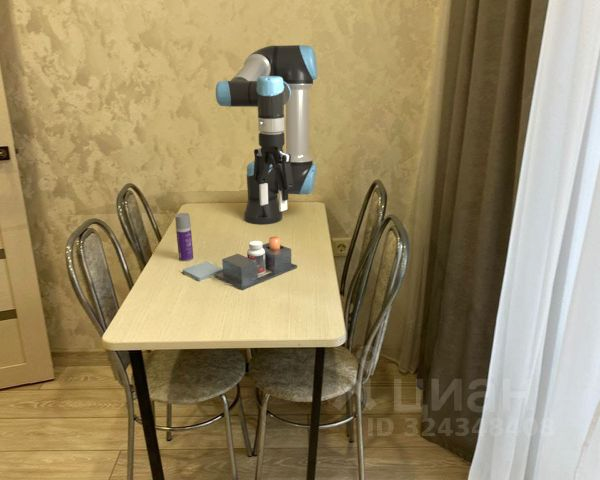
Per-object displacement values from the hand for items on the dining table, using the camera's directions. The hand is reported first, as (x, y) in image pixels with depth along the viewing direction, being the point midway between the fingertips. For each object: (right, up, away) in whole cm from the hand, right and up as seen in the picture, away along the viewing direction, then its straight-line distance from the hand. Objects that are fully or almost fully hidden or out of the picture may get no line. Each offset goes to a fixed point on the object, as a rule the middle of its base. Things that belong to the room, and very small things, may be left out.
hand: (273, 207), depth 165 cm
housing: (-5, -20, +2) cm, 21 cm away
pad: (-22, -20, +2) cm, 30 cm away
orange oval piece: (0, -14, +5) cm, 15 cm away
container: (-29, -16, +13) cm, 36 cm away
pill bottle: (-5, -20, +2) cm, 21 cm away
